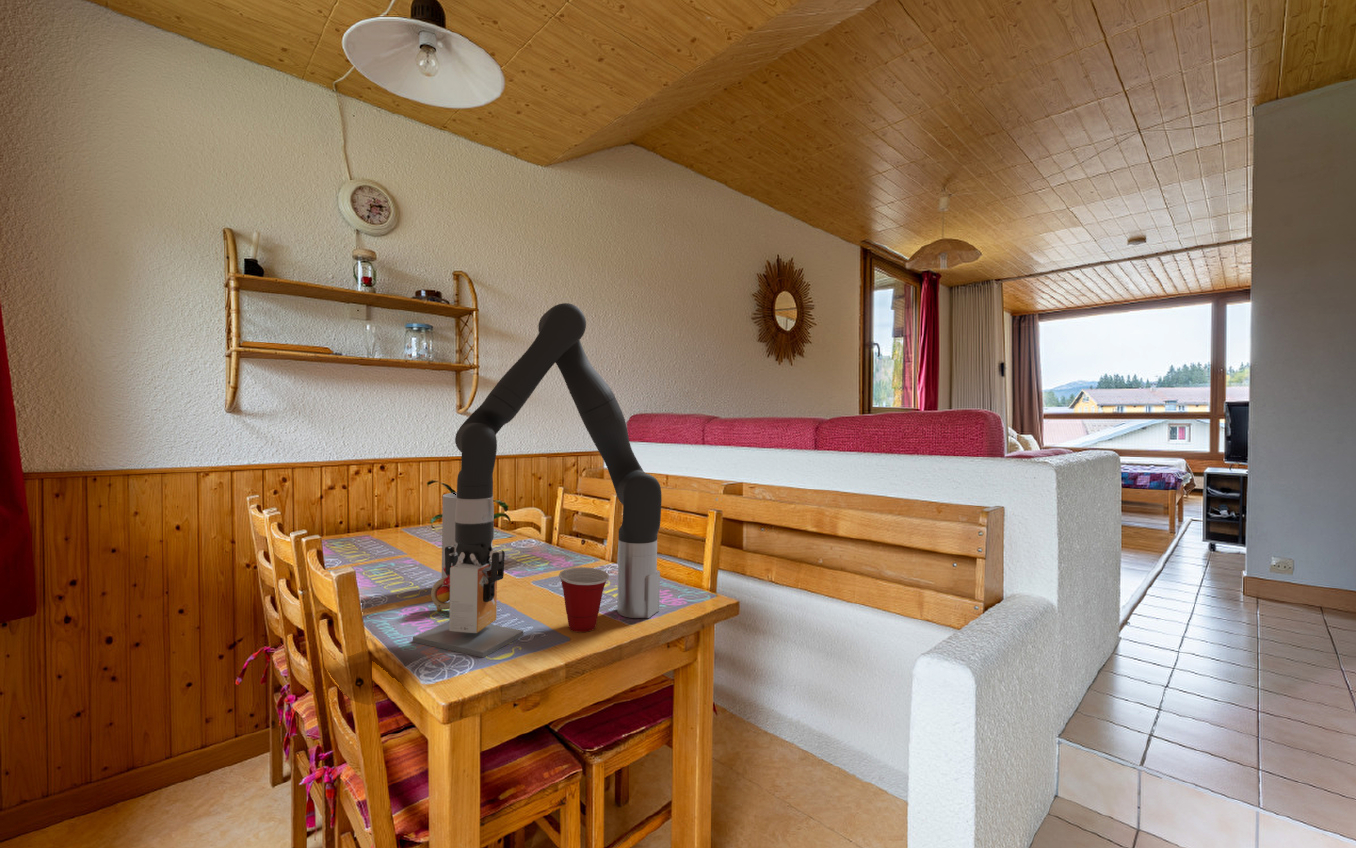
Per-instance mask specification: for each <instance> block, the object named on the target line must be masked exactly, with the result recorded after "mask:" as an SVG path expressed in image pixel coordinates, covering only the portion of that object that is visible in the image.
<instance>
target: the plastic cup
mask: <svg viewBox="0 0 1356 848" xmlns="http://www.w3.org/2000/svg"><path fill="white" fill-rule="evenodd" d="M558 578H559V579H560V582H561V586H562V590H563V599H564V605H565V614H566V617H567V623H568V628H569V630H570V631H572V632H574V633H587V632H591V631H594V630H595V629H596V626H597V621H598V617H599V613H600V609H601V608H600V607H601V603H602V598H603V597H602V596H603V593H604V590H605V589H604V588H605V585H606V583H607V581H608V580H609V578H610V575H609V573H608V572H607V571H604V570H601V569H599V568H593V567H583V566H581V567H570V568H565V569H563V570H561V571H560V572H559V574H558Z"/></svg>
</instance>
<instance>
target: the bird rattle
mask: <svg viewBox="0 0 1356 848" xmlns="http://www.w3.org/2000/svg"><path fill="white" fill-rule="evenodd" d="M451 567H452V566H451ZM443 570H444V571H445V567H444V568H443ZM447 576H448V577H446V578H442V577H441V578H439V579H438V580H437V581H436V582H434V584H433V586H432V587H431V591H430V597H431V600H432V601H431V602H432V603H433V604H434V606H435V607H436V611H438V612H440V611H443V610H450V575H447ZM442 585H448V586H442Z"/></svg>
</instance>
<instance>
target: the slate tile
mask: <svg viewBox="0 0 1356 848" xmlns="http://www.w3.org/2000/svg"><path fill="white" fill-rule="evenodd" d="M524 632H525V631H524V630H522V629H516V628H511V627H506V626H501V625H497V624H496V625H495V624H492V623H490V624H489V625H487V626H486V627H485V628H483V629H482V630H480V631H479V632H478V633H466V632H456V631H449V621H447V622H446V621H445V622H444V623H442V624H439V625H437V626H434V627H432V628H431V629H428V630H425V631H424V632H421V633H419V634H416V635H414V636H412V643H416V644H420V645H421V644H422V645H427V646H430V647H434V648H439V649H444V650H448V651H452V652H456V653H462V654H466V655H470V656H475V657H479V658H485V657H486V656H489V655H490V654H493V653H494V652H496V651H498V650H500V649H501V648H503V647H505V646H507V645H508V644H510V643H513V642H514V641H516V640H518V639H520V638H521V637H523V636H524Z"/></svg>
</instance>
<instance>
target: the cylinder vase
mask: <svg viewBox="0 0 1356 848" xmlns="http://www.w3.org/2000/svg"><path fill="white" fill-rule="evenodd" d="M453 493H455V494H456V495H455V494H453ZM492 497H493V498H494V495H493V496H492ZM456 502H457V492H449V493H444V494H443V495H442V515H441V516H442V517H441V518H442V521H441V522H442V523H441V524H442V529H441V530H442V531H441V532H442V533H441V534H442V535H441V579H442V578H446V577H448V576H447V575H446V573H445V571H444V570H443V568H444V567H445V547H448V546H451V545H458V543H456V542H455V509H456ZM491 547H492V548H493V542H492V543H491ZM458 559H459V556H458ZM490 559H491V558H490ZM451 566H452V563H451ZM442 586H448V585H442Z"/></svg>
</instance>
